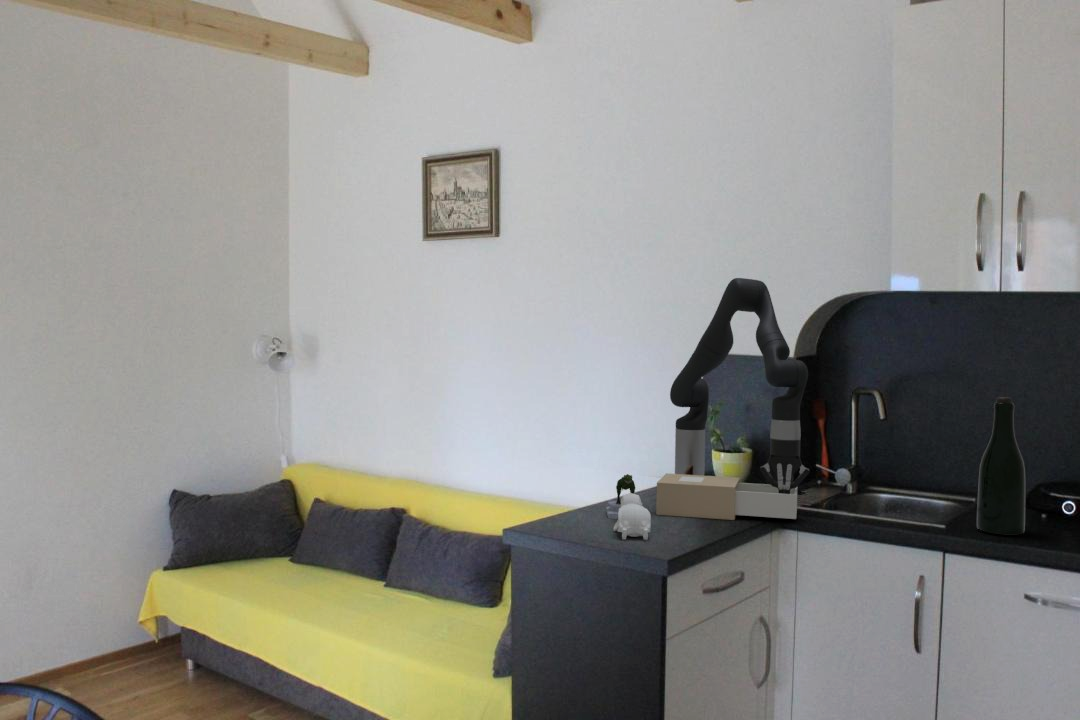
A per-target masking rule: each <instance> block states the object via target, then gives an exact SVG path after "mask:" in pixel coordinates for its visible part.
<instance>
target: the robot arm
mask: <svg viewBox="0 0 1080 720" xmlns="http://www.w3.org/2000/svg"><path fill="white" fill-rule="evenodd" d="M736 312H747V313H754V314H756V315H757V317H758V319H759V322H758V324H757V327H756V331H755V341H756V343H757V347H758V348H759V350H760V353H761V355H762V357H763V361H764V362H763V363H764V369H765V371H764V372H765V373H764V374H765V379H766V382H767V383H769V385H771V386H772V387H775V388H788V390H787V391H786V393H785V394H783V395H780V396H779V395H778V396H775V397H774V398H773V399H772V403H771V423H770V432H769V436H770V438H769V439H770V440H769V441H770V442H769V443H770V444H769V447H770V448H769V458H768V459H767V463H765V464H764V465H762V466H760V468H759V471H760V472H761V474H762V475H763V476H764V477H765V479H766V480H767V481H768V484H769V485H772V486H773V487H776V488H778V490H779V494H790V490H791V489H792V488H796V487H797V488H798V486H799V485H800V484H801V483H802V482H803V481H804V479H805V478H806V477H807V476H808V475H809V474H810V468H807V467H805V465H803V464H802V463H803V462H802V460H801V436H802V434H801V431H802V430H801V420H800V419H801V403H802V399H803V395H804V392H805V389H806V385H807V382H808V379H809V371H808V370H809V369H808V367H807V365H806V363H805V362H803V361H802V360H799V359H797V360H796V359H794V360H793V359H789V357H790V353H791V350H790V346H789V344H788V343H787V341H786V338H785V337H784V335H783V333H782V330H781V328H780V326H779V324H778V320H777V317H776V313H775V308H774V305H773V301H772V297H771V294H770V291H769V289H768V287H767V285H766V284H765V282H763V281H762V280H758V279H752V278H751V279H750V278H745V277H735V278H733V279H731V280H730V281H729V282H728V284H727V285H726V287H725V290H724V292H723V295H722V296H721V299H720V302H719V304H718V306H717V308H716V310H715V313H714V315H713V317H712V318H711V321H710V322H709V324H708V326H707V327H706V329H705V331H704V332H703V334H702V335H701V338H700V339H699V341H698V343H697V346H696V347H695V349H694V351H693V353H692V354H691V355H690V357H689V359H688V361H687V363H686V364H685V365H684V367H683V368H682V369H681V371H680V372H679V374H678V375H677V376H676V378H675V379H674V381H673V383H672V385H671V388H670V391H669V392H670V393H669V396H670V397H669V399H670V402H671V403H672V404H673V405H674V406H675V407H679V408H689V410H688V412H687V413H686V414H685V415H683V416H681V417H679V418H678V417H677V419H676V421H675V442H674V443H675V444H674V445H675V446H674V448H675V449H674V474H684V473H685V471H686V469H687V468H688V466H689V465H690V464H693V475H702V476H705V469H706V468H705V465H706V463H705V462H706V461H705V459H706V458H705V457H706V453H705V451H706V424H707V421H708V410H709V398H710V397H709V396H710V394H709V392H710V391H709V386H708V383H707V381H706V380H705V379H704V378H703V377H704V376H706V375H707V374H709V373H711V372H713V370H715V369H717V368H718V367H719V366H720V365H721V364H723V363H724V361H725V360H726V359H727V357H728V355H729V354H730V352H731V350H732V349H733V345H734V334H733V330H732V325H731V321H732V319H733V317H734V315H735V314H736ZM799 469H800V470H799ZM770 471H772V472H773V473H774V474H775V475H776V476H777V480H775V478H774V477H773V475H771V473H770ZM798 471H799V475H798V476H797V478H796V479H795V480H794V481H793V482H791V481H792V480H791V479H792V477H793V476H794V475H795V474H796V473H797V472H798ZM784 477H785V484H784ZM783 485H785V489H784V486H783Z"/></svg>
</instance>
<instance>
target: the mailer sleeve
mask: <svg viewBox="0 0 1080 720" xmlns="http://www.w3.org/2000/svg"><path fill="white" fill-rule="evenodd" d="M738 483H741V479H740V477H733V476H719V475H718V476H717V475H715V476H714V475H704V476H702V475H684V474H675V473H667V472H666V473H665V474H664V475H663V476H661V478H660V479H659V480H658V481H657V482H656V504H655V505H656V507H655V508H656V510H655V511H656V512H655V514H656V515H657V516H659V515H660V516H672V517H674V516H675V517H684V518H685V517H686V518H687V517H688V518H700V519H701V518H702V519H713V520H714V519H717V520H727V521H729V520H730V521H735V519H736V517H737V515H735V489H736V487H737V485H738Z"/></svg>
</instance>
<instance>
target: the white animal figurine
mask: <svg viewBox="0 0 1080 720" xmlns="http://www.w3.org/2000/svg"><path fill="white" fill-rule="evenodd" d="M620 500H621V508H619V511H618V519H617V521H616V522H615V524H614V526H613V532H617V533H621V539H622V541H623V540H627V537H633V538H636V537H642V538H643V541H648V538H649V534H648V533H651V526H652V524H651V522H652V521H651V517H652V516H651V512H650V511H649V510H648V508H645V506H643V505H642V504H641V502H642V500H641V497H640V495H639V494H636V493H634V494H632V493H630V492H629V493H624V494H622V496H621V499H620Z"/></svg>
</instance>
